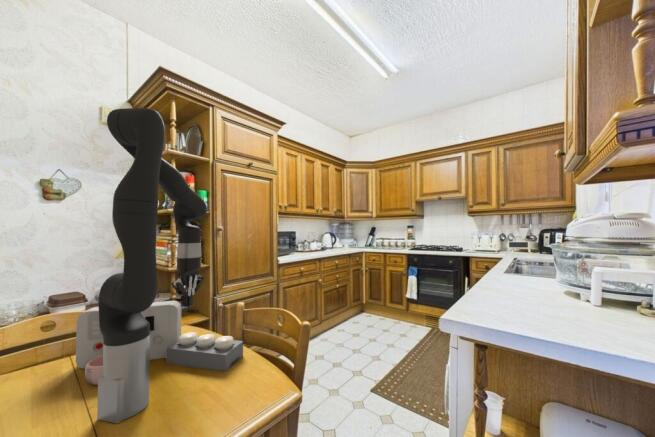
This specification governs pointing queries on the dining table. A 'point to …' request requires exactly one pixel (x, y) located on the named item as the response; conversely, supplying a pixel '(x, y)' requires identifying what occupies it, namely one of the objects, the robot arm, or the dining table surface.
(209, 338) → the knob
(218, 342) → the knob
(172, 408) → the dining table surface
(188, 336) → the knob
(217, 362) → the mount
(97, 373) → the mug
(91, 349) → the rounded white slab
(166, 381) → the dining table surface
